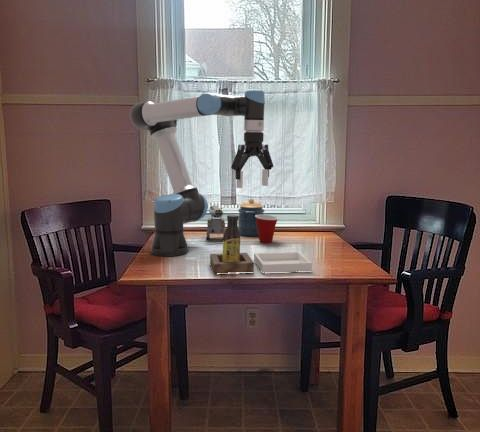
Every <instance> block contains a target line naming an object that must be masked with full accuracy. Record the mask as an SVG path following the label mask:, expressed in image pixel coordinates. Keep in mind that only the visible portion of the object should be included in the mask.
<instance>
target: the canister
mask: <svg viewBox="0 0 480 432" xmlns="http://www.w3.org/2000/svg"><path fill="white" fill-rule="evenodd" d="M263 207H264V205H263V204H261V203H260V202H257V201H255V199H254V198H249V199H248V201H245V202H242V203H241V204H240V205H239V209H237V212H238V230H239V232H240V236H243V237H259V235H258V228H257V222H256V217H255V215H264V213H265V209H263Z"/></svg>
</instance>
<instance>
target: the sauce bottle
mask: <svg viewBox="0 0 480 432" xmlns="http://www.w3.org/2000/svg"><path fill="white" fill-rule="evenodd" d="M238 216H239V214H227V216H226V220H227V223H226V230H225V233H224V240H223V239H222V241H223V242H222V253H223V259H222V262H239V260H240V253H241V252H240V251H241V235H240V232H239V230H238Z"/></svg>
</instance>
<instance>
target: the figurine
mask: <svg viewBox="0 0 480 432" xmlns="http://www.w3.org/2000/svg"><path fill="white" fill-rule="evenodd" d="M222 209H223V207H219V206H218V205H212V206H210V207H209V208H208V212H209V214H210V215H211V216H210V217H209V219H207V228H206V238H205V239H206V241H210V238H211V236H210V235H211V234H212V235H216V234H217V235H223V237H222V241H223V240H224V233H225V230H226V229H227V227H226V221H225V220H224V218H223V216H224V215H225V214H224V212H223V210H222Z"/></svg>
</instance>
